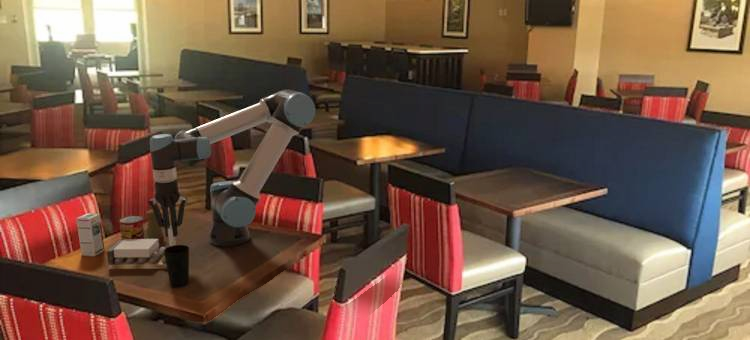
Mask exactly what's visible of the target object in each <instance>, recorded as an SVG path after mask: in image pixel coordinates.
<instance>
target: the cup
mask: <svg viewBox="0 0 750 340" xmlns="http://www.w3.org/2000/svg"><path fill="white" fill-rule="evenodd" d="M165 248H166V249H164V255H165V260H166V265H167V269H166V270H167V275H168V280H169V285H170V287H171V288H173V289H176V288H177V289H179V288H184V287H186V286H188V285H189V283H190V282H189V275H190V274H189V271H190V269H189V267H190V265H189V262H190V247H189V246H187V245H184V244H177V245H176V244H175V245H174V246H167V247H165Z"/></svg>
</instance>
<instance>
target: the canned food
mask: <svg viewBox="0 0 750 340" xmlns="http://www.w3.org/2000/svg"><path fill="white" fill-rule="evenodd" d="M143 218H144V217H142V216H140V215H129V216H125V217H121V218H120V219H119V227H120V236H121V237H120V239H146V238H145V228H144V219H143Z"/></svg>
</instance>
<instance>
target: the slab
mask: <svg viewBox="0 0 750 340" xmlns="http://www.w3.org/2000/svg"><path fill="white" fill-rule="evenodd" d="M159 241H160V240H159V239H147V238H145V239H124V240H123V241H122V242H121V243H120V244H119V245H118V246H116V247H115V248H114V249H113V251H114V258H117V257H150V256H151V255H152V254H153V253H154V252H157V249H158V248H159V247H160V242H159Z"/></svg>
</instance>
